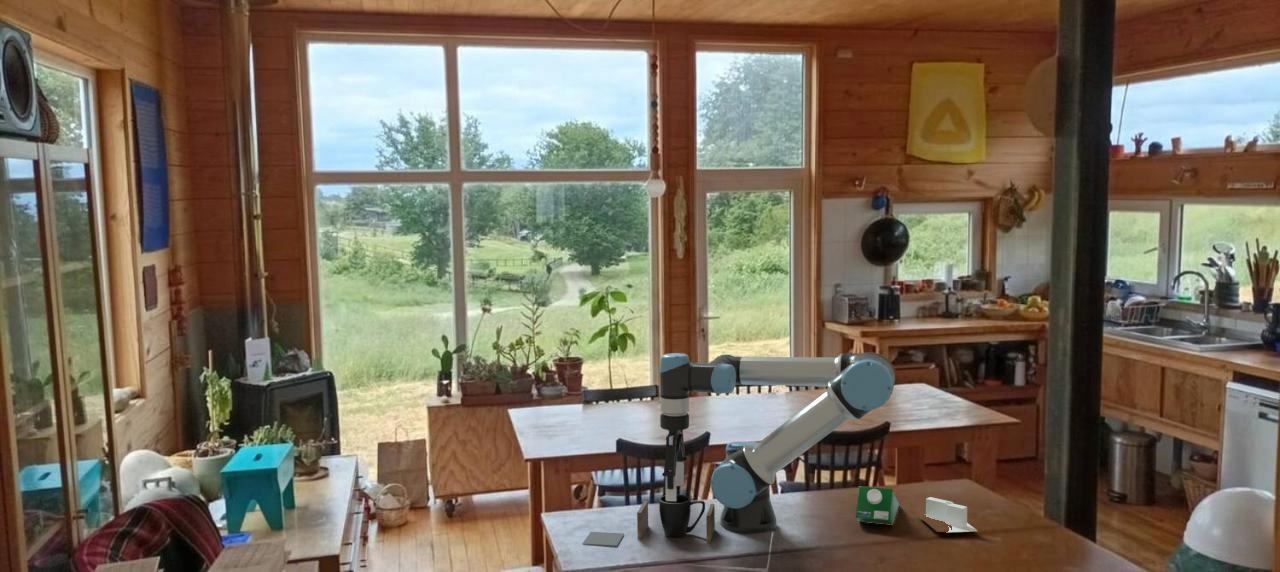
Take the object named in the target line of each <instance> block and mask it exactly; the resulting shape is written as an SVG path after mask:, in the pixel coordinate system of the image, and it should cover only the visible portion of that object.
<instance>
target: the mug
mask: <svg viewBox="0 0 1280 572" xmlns="http://www.w3.org/2000/svg"><path fill="white" fill-rule="evenodd" d="M658 502H659V504H658V505H659V509H658V511H659V516H660V522H661V525H662V529H663V532H664V536H666V537H667V538H670V539H671V538H672V539H675V538H676V539H677V538H683V537H685V536H686V535H687V534H688V533H691V532H692V531H693V530H694V529H695V528H696V526H697V525H698V523H699V521H700V520H701V518H702V517H703V514H704V512H705V511H706V501H704V500H693V501H692V500H691V497H689V496H688V495H683V494H677V493H676V501H666V494H665V495H663V496H661V497H659V499H658ZM694 504H695V505H696V504H701V505H702V508H701V510H700V512H699V515H698V516H697V518H696V520H694V523H693V524H691V525H690V526H689V524H690V518H691V506H692V505H694Z"/></svg>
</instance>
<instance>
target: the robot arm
mask: <svg viewBox="0 0 1280 572" xmlns="http://www.w3.org/2000/svg"><path fill="white" fill-rule="evenodd" d="M659 368H660V369H659V383H660V385H659V387H660V388H659V389H660V391H659V392H660V393H659V395H660V399H659V400H658V401H657V403H658V404H660V406H659V407H660V412H661V414H660V415H659V416H660V417H659V420H660V421H659V422H660V425H659V426H660V428H661V429H662V430H666V431H668V433H667V435H666V436H665V437H666V438H665V455H664V456H665V457H664V472H662V477H664V478H665V495H666V501H676V494H677V487H684V485H685V462H687V461H688V459H687V456H686V453H685V442H684V430H687V429H689V427H690V414H689V412H690V392H692V393H693V392H695V393H697V392H698V393H707V394H709V393H711V394H718V395H722V394H732V393H733V392H734V390H735V387H736V386H737V385H739V386H740V385H741V386H743V385H747V386H749V385H750V386H751V385H752V386H755V385H756V386H785V387H786V386H787V387H788V386H792V387H794V386H795V387H825V388H826V387H827V389H826V391H824V392H823V393H822V394H820V395H819V396H818V397H817V398H815V399H813V400H812V401H811V402H810V403H809V404H807V405H806V406H805V407H804V408H802V409H800V411H798V412H797V413H796V414H794V415H793V416H791V418H789V419H787V421H785V422H784V423H782V424H781V425H779V427H778V428H776V429H774V430H773V431H772V432H771V433H770V434H768V435H767V436H766V437H764V438H763V439H762V440H760V441H759V442H757V441H730V442H727V444H726V448H725V455H726V456H725V459H724V460H723V461H721V463H720V464H719V465H717V467H715V469H714V470H713V473H712V475H711V479H710V488H711V492H712V494H713V496H714V498H715V499H716V500H717V501H718V502H719V503H720V504H722V505H723V508H722V512H721V514H720V523H719V524H720V526H721V527H722V528H723V529H725V530H727V531H729V532H733V533H737V534H739V533H740V534H762V533H767V532H770V531H771V532H774V531H775V530H776V529H777V516H776V514H775V511H774V507H773V505H772V502H771V497H770V496H771V493H770V492H771V491H770V490H771V489H770V488H771V486H772V485H773V484H774V483H775V480H776V479H775V478H776V474H777V473H778V472H779V471H781V470H782V469H784V468H785V467H786V466H789V464H790V463H791V462H793V461H794V460H796V459H798V457H800V456H801V455H802V454H804V453H805V452H806V451H808V450H810V449H811V448H812V447H813V446H814V445H816V444H817V443H818V442H820V441H821V440H822V439H824V438H825V437H827V436H828V435H830V433H833V431H835V430H836V429H837V428H839V427H840V426H841V425H843V424H844V423H845V422H846V421H848V420H857V421H858V420H860V419H861V418H863V417H864V416H866V415H867V414H869V413H870V412H872V411H874V410H877V409H878V408H880V407H882V406H884V405H885V404H886V403H887V402H888V401H889V400H890V398H891V396H892V394H893V392H894V386H895V383H896V375H897V374H896V373H897V372H896V369H895V367H894V365H893V364H892V362H891V361H890V360H889V359H888V358H887V357H886V356H884V355H882V354H880V353H876V352H870V351H868V352H859V353H858V352H855V353H840V354H839V355H838V356H837V357H826V356H825V357H824V356H823V357H817V356H815V357H813V356H812V357H811V356H810V357H809V356H807V357H806V356H804V357H803V356H797V357H796V356H734V355H732V354H721V355H718V356H716V358H714V359H713V360H711V361H709V362H693V361H692V362H691V361H690V357H689V355H688V354H686V353H682V352H680V353H679V352H673V353H665V354H663V355H661V357H660V365H659Z"/></svg>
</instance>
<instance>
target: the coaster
mask: <svg viewBox="0 0 1280 572" xmlns="http://www.w3.org/2000/svg"><path fill="white" fill-rule="evenodd" d="M624 536H625V533H624V532H623V533H622V532H604V531H603V532H602V531H590V532H589V533H588V535H587V536H586V538H585V539H584V540H583V542H582V544H587V545H586V546H595V545H596V547H608V546H609V547H610V548H611V547H612V548H617V547H618V546H619V544H620V543H621V541H622V539H623V538H624ZM588 544H589V545H588ZM609 547H608V548H609Z"/></svg>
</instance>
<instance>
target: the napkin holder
mask: <svg viewBox="0 0 1280 572" xmlns="http://www.w3.org/2000/svg"><path fill="white" fill-rule="evenodd" d="M925 515H926V517H929V518H931V519H935V520H939V521H943V522H945V523H946V524H948V525H951V526H952V530H951V528H950V527H949V526H948V527H949V531H948V532H947V533H964V532H965V533H966V532H967V533H968V532H978V530H977V529H976V528H975V527H974V526H972V525H971V524H970V523H968V506H965V505H962V504H956V503H954V501H949V500H945V499H941V498H936V497H932V496H929V497H927V498H926V499H925Z"/></svg>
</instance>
